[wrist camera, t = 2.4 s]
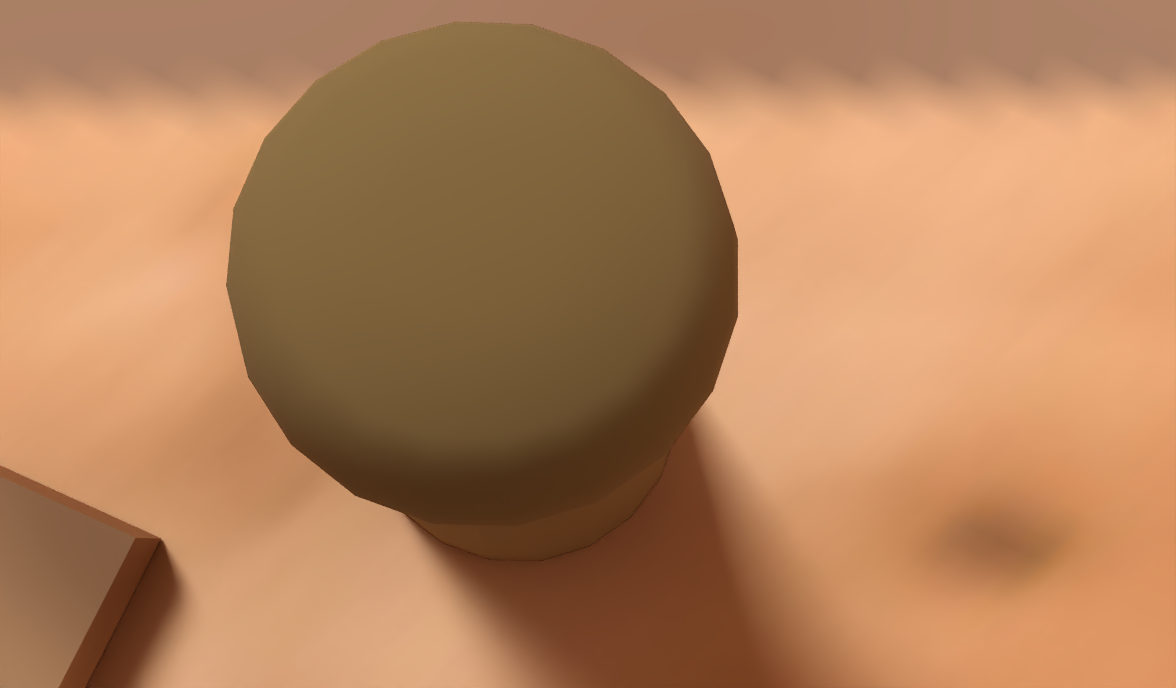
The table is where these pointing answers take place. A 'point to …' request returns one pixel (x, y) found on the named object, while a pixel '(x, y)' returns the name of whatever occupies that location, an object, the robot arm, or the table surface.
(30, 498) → the hub board
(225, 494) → the table surface
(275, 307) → the olive green peg
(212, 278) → the table surface
